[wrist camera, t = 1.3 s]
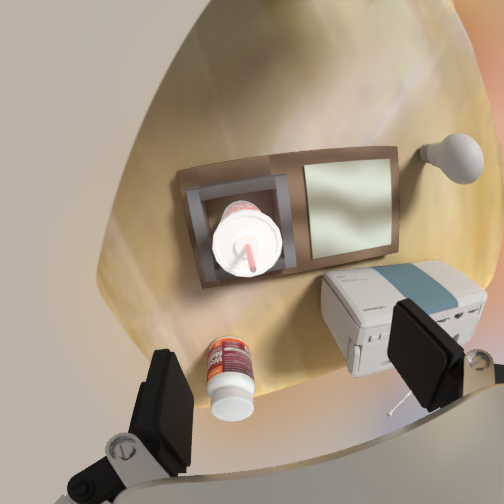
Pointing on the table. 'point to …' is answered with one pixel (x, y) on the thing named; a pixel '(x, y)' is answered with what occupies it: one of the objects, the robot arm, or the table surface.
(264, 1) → the table surface
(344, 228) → the socket board
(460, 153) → the lightbulb
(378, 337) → the stereo radio cassette player
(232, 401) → the pill bottle
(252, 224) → the beverage cup
